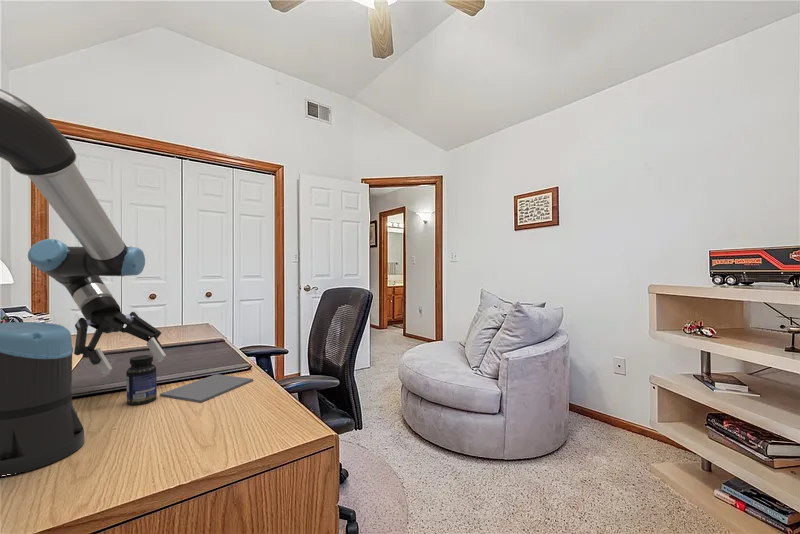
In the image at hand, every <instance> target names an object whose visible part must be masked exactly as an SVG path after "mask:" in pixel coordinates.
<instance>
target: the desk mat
mask: <svg viewBox="0 0 800 534" xmlns="http://www.w3.org/2000/svg"><path fill="white" fill-rule="evenodd" d="M253 381H254V378H250V377H241V376H233V375H225V374H218V373H215V374H213V375H210V376H207V377H205V378H202V379H198V380H195V381H192V382H190V383H187V384H184V385H181V386H179V387H176V388H173V389H170V390H167V391H164V392H162V393H160V394H159V396H160V397H165V398H170V399H175V400H183V401H188V402H194V403H200V404H201V403H203V402H207V401H209V400H211V399H214V398H216V397H218V396H220V395H223V394H226V393H228V392H231V391H232V390H233V391H234V390H235V389H237V388H240V387H242V386H244V385H246V384H249V383H252V382H253Z"/></svg>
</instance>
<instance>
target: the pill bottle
mask: <svg viewBox="0 0 800 534" xmlns="http://www.w3.org/2000/svg"><path fill="white" fill-rule="evenodd" d="M153 361H154V355H153V354H152V355H151V354H141V355H136V356H132V357H130V358H129V365H130V367H128V369H127V370H126V373H125V374H126V377H125V378H126V403H127V405H129V406H136V405H137V406H138V405H145V404H149V403H152V402H153V401H155V400H156V399H157V392H158V391H157V384H158V383H157V367H156V365H155V364H153Z"/></svg>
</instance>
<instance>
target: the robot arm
mask: <svg viewBox="0 0 800 534" xmlns="http://www.w3.org/2000/svg"><path fill="white" fill-rule="evenodd" d="M0 159H2V160H5V161H6V162H8V163H9V164H10V165H11V167H12V168H13V169H14V171H15V172H17V173H18V174H20V175H22V176H28V178H29V179H30V181H31V182H32V183H33V184H34V185H35V187H36V188H37V189H38V191H39V192H40V194H41V195H42V196H43V198H44V199H45V200H46V201H47V202H48V204H49V205H50V206H51V207H52V209H53V210H54V211H55V213H56V214H57V216H58V217H59V218H60V219H61V220H62V222H63V223H64V224H65V225H66V227H67V228H68V230H70V232H71V233H72V235H73V236H74V238H76V239H77V241H78V242H79V244H80V245H81V246H69V245H68V246H67V244H66V243H64V242H62V241H61V240H57V239H54V238H47V239H42V240H40V241H37V242H36V243H35V244H33V245H32V246H31V247H30V248H29V250H28V253H27V258H28V261H29V262H30V263H31V264H32V265H33V266H34V267H36V268H37V270H39V271H40V272H42V273H44V274H45V275H47V276H49V277H50V278H52V279H54V280H55V281H56V282H58V283H59V284H60V285H62V286H63V287H64V288H65V289H66V290H67V292H68V293H69V294H70V296H71V298H72V300H73V301H74V303H75V304H76V306H77V307H78V309H79V311H80V312H81V314H82V315H83V317H80V318H78V320H77V322H76V323H75V325H74V327H75V329H76V336H75V344H74V347H73V341H72V333H71V331H70V330H69V329H68V328H67V327H65V326H64V325H61V324H57V323H51V322H41V321H39V322H38V321H37V322H36V321H22V322H16V321H15V322H13V321H12V322H11V321H9V322H7V321H6V322H0V476H2V475H7V474H14V475H16V474H15V473H19V474H21V472H23V473H26V472H29V471H33V470H36V469H39V468H42V467H45V466H48V465H50V464H52V463H55V462H58V461H60V460H62V459H64V458H66V457H68V456H70V455H72V454H73V453H75V452H76V451H79V449H80V448H81V447H82V446H83V445H84V444H85V428H84V426H83V424H82V422H81V420H80V418H79V416H78V414H77V411H76V409H75V407H74V404H73V354H74V355H75V356H80V355H82V357H83V358H88V360H89V361H90V363H91V364H92V365H93V366H95V365H96V366H97V368H98V370H99V372H100V373H101V375H102V376H103V377H107V376H108V375H109V374H110V373H111V371H112V370H113V367H112V365H111V363H110V362H109V360H108V358H107V357H106V356H105V354H104V352H103V351H102V350H101V348H100V347H98V348H97V347H96V346H97V344H98V343H99V340H100V339H101V336H103V333H104V334H111V333H119V332H121V333H126V334H129V335H131V336H134V337H136V338H138V339H140V340H143V341H146V342H147V343H145V344H146V346H147V348H148V349H149V351H150V352H151V354H152V356H153V358H155V360H156V361H157V363H160V362H162V361H163V359H164V358H165V357H166V355H167V354H166V353H165V352H164V350H163V349H162V346H163V345H162V343H161V342H160V341H159V339H158V338H159V337H160V336H161V334H162V332H161V331H160V330H159V329H157V328H156V327H155V326H153V325H152V324H150V323H148V322H147V321H146V320H144V319H142V318H141V317H139V316H138V315H139V314H137V313H136V312H135V311H131V312H130V313H129V314H124V313H122V311H121V307H120V305H119V303H118V302H117V300H116V299H115V298H114V296H113V294H112V293H111V291H110V290H109V289H108V287H107V286H106V284H105V283H104V281H103V280H102V278H101V277H126V276H138V275H141V273H142V272H143V271H144V268H145V265H146V258H145V254H144V251H143V249H141V248H140V247H136V246H135V247H134V246H127V245H126V243H125V242H124V240H123V238H122V237H121V235H120V234H119V232H118V230H116V227H115V226H114V224H113V223H112V221H111V220H110V218H109V216H108V215H107V213H106V212H105V209H104V208H103V206H102V205H101V204H100V202H99V200H98V198H97V196H96V195H95V194H94V193H93V191H92V189H91V187H90V186H89V183H88V182H87V181H86V180H85V178H84V176H83V175H82V173H81V172H80V170H79V167H77V165H76V161H77V155H76V153H75V150H74V149H73V148H72V145H71V144H70V143H69V141H68V139H67V138H66V137H65V136H64V135H63V133H62V132H61V131H60V130H59V128H57V127H56V126H55V125H54V124H53V123H52V122H51V121H50V120H49V119H48V118H47V117H46V116H45V115H43V114H42V113H41V112H40V111H38V110H37V109H36V108H34V107H33V106H32V105H31V104H29V103H28V102H25V101H24V100H22V99H21V98H19V97H18V96H16V95H14V94H13V93H10V92H8V91H6V90H3V89H1V88H0ZM125 325H126V326H125ZM124 326H125V327H124ZM89 327H91V328H93V329H95V331H94V333H93V335H92V337H91V339H90V341H89V343H88V345H87V346H86V343H87V336H88V335H87V334H88V328H89Z"/></svg>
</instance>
